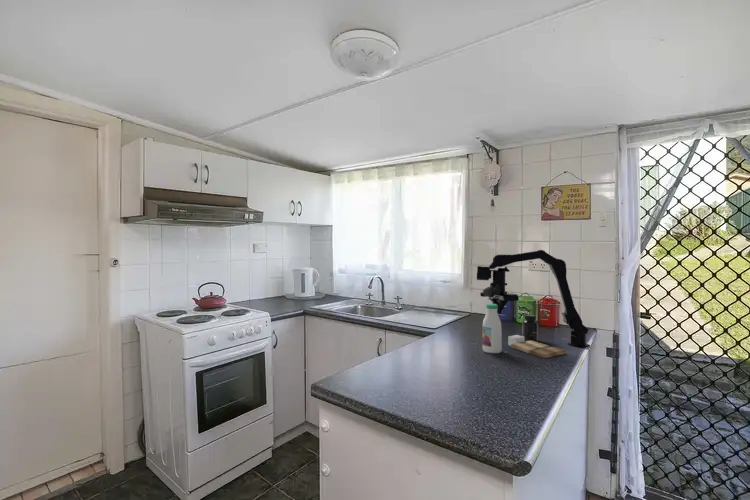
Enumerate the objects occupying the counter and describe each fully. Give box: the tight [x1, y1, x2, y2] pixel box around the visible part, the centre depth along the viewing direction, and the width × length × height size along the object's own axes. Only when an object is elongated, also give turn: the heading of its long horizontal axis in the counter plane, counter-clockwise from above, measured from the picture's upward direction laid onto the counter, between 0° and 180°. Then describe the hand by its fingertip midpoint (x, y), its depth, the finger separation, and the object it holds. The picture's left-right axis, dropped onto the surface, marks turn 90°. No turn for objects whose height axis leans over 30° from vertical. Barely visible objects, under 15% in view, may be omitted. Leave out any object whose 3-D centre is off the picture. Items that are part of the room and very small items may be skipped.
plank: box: [510, 340, 550, 354], centre depth 154 cm, size 13×9×2 cm
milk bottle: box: [482, 303, 503, 354], centre depth 150 cm, size 8×8×20 cm
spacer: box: [507, 334, 525, 347], centre depth 160 cm, size 6×4×4 cm, turn 122°
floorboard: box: [529, 346, 566, 359], centre depth 146 cm, size 13×7×2 cm, turn 118°
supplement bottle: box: [521, 314, 539, 342], centre depth 167 cm, size 7×7×12 cm
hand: (498, 313), depth 169 cm, fingers closed
